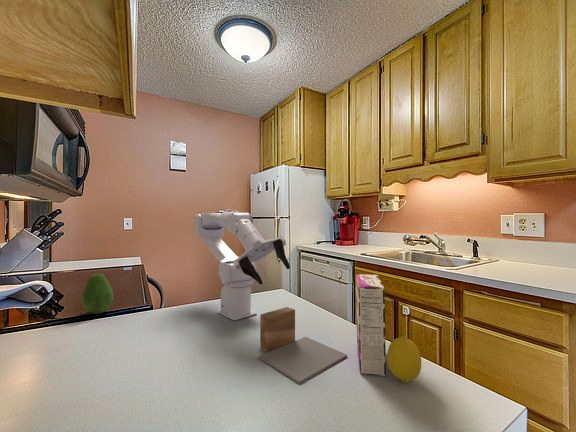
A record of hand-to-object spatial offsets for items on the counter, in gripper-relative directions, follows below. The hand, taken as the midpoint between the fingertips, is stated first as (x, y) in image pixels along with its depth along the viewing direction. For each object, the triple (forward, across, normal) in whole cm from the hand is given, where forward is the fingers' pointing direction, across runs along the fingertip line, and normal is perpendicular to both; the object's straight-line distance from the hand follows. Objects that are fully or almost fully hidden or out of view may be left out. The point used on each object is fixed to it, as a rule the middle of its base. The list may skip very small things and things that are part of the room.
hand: (274, 274), depth 67 cm
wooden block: (+11, -7, +9) cm, 16 cm away
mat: (+18, -4, +6) cm, 19 cm away
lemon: (+32, +8, +2) cm, 34 cm away
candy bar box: (+26, +7, +7) cm, 27 cm away
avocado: (-31, -49, +16) cm, 60 cm away
